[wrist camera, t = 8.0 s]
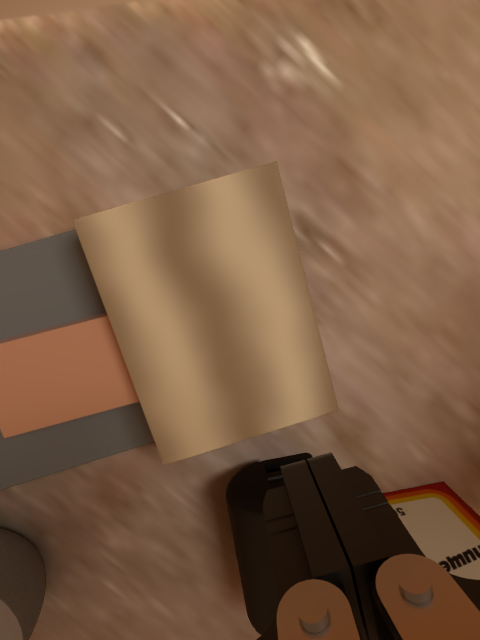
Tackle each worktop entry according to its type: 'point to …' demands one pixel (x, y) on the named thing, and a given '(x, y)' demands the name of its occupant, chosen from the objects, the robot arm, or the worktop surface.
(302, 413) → the tan wooden flat block
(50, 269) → the mat
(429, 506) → the baking soda box
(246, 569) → the end cap
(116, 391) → the tile
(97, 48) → the worktop surface
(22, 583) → the smart speaker
